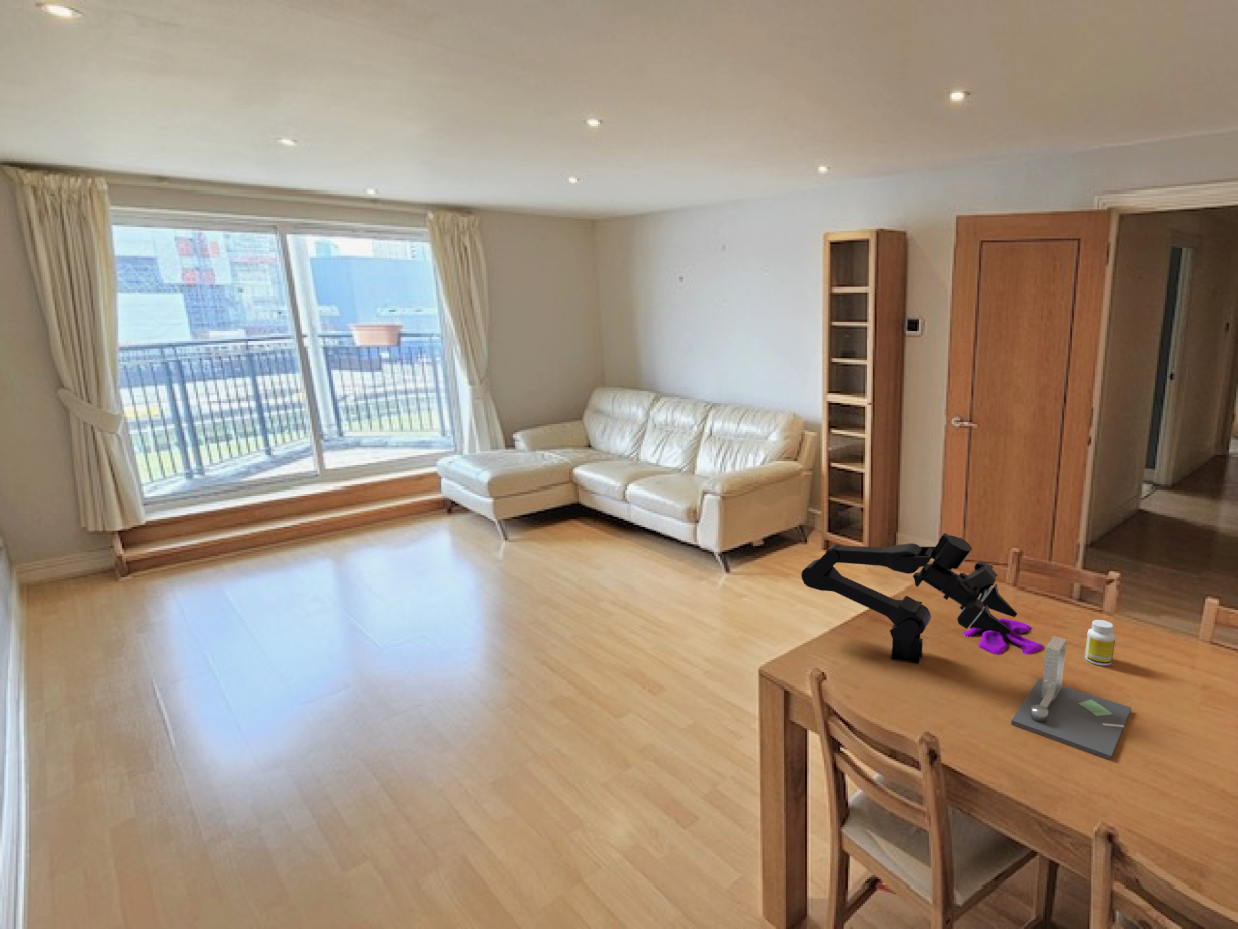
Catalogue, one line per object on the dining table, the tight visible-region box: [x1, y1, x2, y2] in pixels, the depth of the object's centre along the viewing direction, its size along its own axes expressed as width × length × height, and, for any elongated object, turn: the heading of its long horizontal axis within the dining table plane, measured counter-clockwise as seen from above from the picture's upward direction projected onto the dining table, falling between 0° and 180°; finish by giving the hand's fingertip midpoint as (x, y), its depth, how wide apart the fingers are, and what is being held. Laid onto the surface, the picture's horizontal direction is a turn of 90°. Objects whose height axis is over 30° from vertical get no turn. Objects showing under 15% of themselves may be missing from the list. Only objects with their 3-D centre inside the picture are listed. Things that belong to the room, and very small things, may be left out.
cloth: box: [962, 618, 1045, 656], centre depth 170 cm, size 22×19×6 cm
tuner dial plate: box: [1010, 678, 1132, 761], centre depth 137 cm, size 20×17×1 cm
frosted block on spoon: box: [1031, 635, 1067, 722], centre depth 139 cm, size 16×3×13 cm, turn 134°
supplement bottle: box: [1084, 619, 1116, 667], centre depth 155 cm, size 5×5×10 cm
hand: (1013, 623), depth 147 cm, fingers open, 9 cm apart
